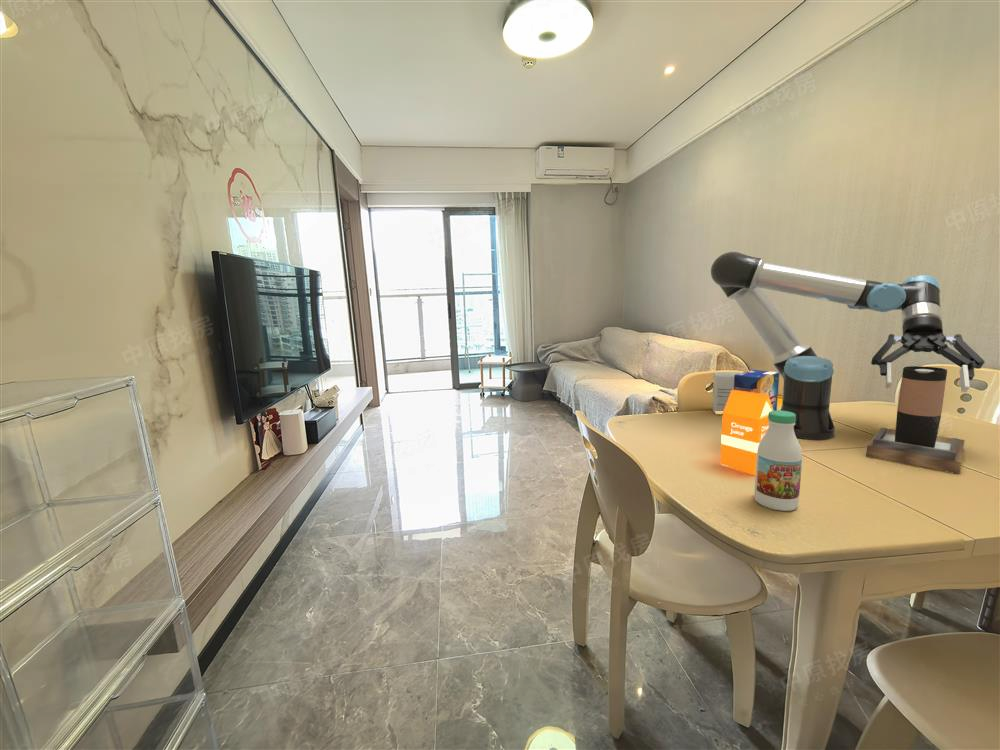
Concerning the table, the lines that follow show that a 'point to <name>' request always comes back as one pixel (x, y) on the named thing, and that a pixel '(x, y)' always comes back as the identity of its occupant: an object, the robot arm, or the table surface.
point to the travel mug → (920, 405)
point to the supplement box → (722, 389)
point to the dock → (917, 451)
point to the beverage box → (759, 384)
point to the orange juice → (744, 429)
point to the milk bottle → (779, 464)
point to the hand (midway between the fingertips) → (925, 387)
